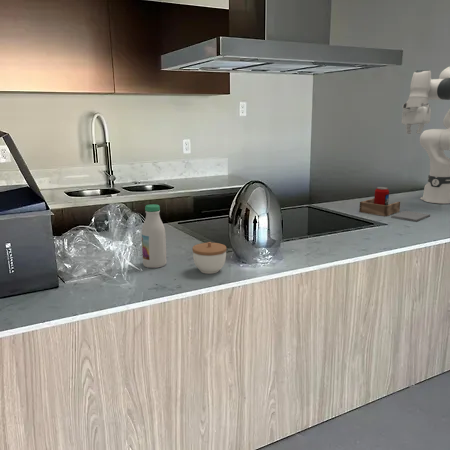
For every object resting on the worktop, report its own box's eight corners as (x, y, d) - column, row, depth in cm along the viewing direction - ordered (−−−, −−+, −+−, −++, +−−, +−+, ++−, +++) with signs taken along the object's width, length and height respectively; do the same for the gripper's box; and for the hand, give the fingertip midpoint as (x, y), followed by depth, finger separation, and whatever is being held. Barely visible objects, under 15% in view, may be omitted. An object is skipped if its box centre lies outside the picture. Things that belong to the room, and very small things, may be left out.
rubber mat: (405, 212, 228) (405, 210, 228) (429, 216, 220) (430, 214, 220) (391, 217, 218) (391, 215, 218) (416, 221, 210) (416, 219, 210)
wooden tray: (373, 207, 240) (374, 198, 239) (399, 211, 230) (400, 201, 229) (359, 211, 230) (360, 202, 229) (385, 216, 221) (386, 206, 219)
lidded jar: (187, 268, 150) (186, 240, 147) (216, 263, 155) (215, 235, 153) (202, 278, 141) (202, 249, 138) (232, 272, 146) (232, 243, 144)
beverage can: (389, 213, 228) (391, 188, 225) (375, 213, 228) (377, 188, 225) (385, 210, 234) (387, 186, 231) (371, 210, 234) (373, 186, 232)
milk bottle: (167, 260, 157) (165, 203, 152) (165, 268, 150) (163, 207, 145) (144, 261, 157) (141, 203, 152) (141, 268, 149) (138, 208, 145)
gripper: (436, 103, 213) (431, 133, 216) (412, 106, 233) (408, 134, 236) (423, 102, 213) (419, 132, 215) (400, 105, 232) (397, 133, 235)
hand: (413, 133), depth 225 cm, fingers open, 8 cm apart
